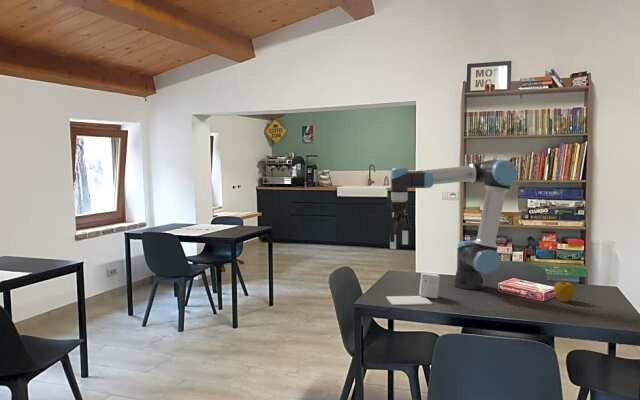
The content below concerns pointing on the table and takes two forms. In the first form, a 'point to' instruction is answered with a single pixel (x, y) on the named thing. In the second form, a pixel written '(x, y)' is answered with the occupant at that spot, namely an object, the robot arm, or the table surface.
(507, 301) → the table surface
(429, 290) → the small box
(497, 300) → the table surface
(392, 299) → the felt mat
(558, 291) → the apple
